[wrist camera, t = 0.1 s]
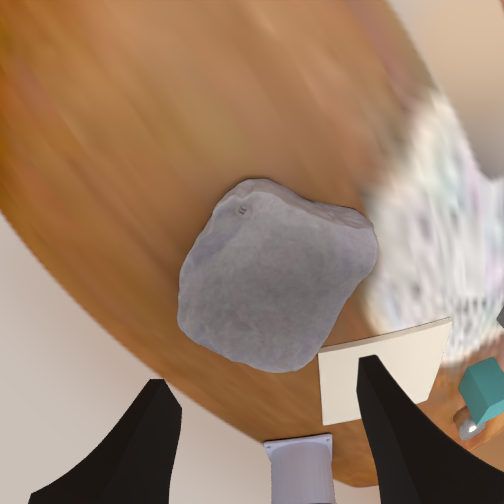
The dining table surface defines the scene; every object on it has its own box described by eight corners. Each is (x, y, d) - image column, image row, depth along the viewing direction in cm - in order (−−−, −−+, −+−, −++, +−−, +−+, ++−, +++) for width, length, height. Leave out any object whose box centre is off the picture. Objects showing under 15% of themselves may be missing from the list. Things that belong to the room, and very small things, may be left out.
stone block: (184, 300, 23) (300, 351, 23) (158, 334, 19) (294, 395, 19) (235, 153, 19) (378, 218, 18) (210, 159, 14) (396, 243, 14)
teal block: (483, 377, 26) (501, 413, 21) (458, 388, 27) (476, 426, 21) (493, 356, 24) (515, 393, 19) (467, 367, 25) (488, 407, 20)
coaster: (425, 396, 27) (426, 400, 26) (322, 421, 28) (323, 425, 28) (449, 317, 21) (452, 321, 21) (317, 348, 23) (318, 353, 22)
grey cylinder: (471, 413, 31) (480, 433, 27) (449, 422, 31) (457, 443, 27) (479, 399, 29) (490, 420, 25) (457, 408, 29) (467, 430, 26)
